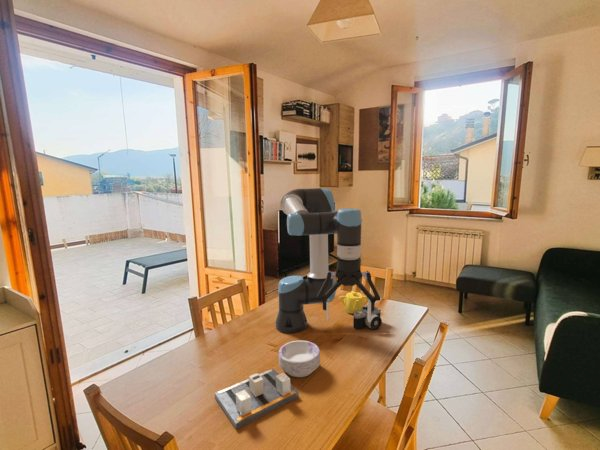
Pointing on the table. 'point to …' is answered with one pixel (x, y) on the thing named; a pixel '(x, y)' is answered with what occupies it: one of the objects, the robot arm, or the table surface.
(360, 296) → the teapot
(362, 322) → the camera
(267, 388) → the panel
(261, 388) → the breaker
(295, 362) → the paper bowls
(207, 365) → the table surface
